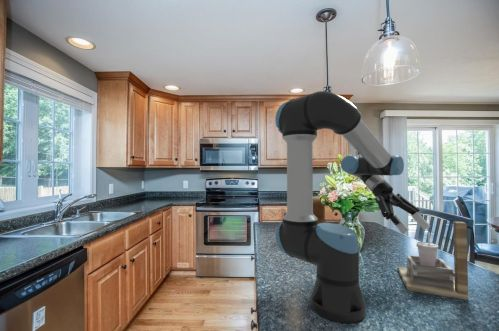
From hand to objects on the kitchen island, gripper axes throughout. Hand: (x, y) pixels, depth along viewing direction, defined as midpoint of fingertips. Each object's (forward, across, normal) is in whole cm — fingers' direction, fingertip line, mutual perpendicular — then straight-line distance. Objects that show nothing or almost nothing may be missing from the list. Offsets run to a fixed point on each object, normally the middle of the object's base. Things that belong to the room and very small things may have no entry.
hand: (416, 230), depth 90 cm
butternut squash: (-29, -5, -55) cm, 63 cm away
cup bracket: (+15, 0, -10) cm, 18 cm away
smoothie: (+12, 0, -7) cm, 15 cm away
